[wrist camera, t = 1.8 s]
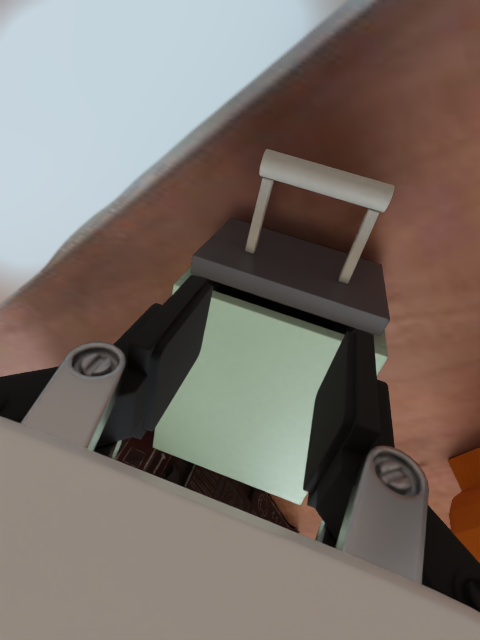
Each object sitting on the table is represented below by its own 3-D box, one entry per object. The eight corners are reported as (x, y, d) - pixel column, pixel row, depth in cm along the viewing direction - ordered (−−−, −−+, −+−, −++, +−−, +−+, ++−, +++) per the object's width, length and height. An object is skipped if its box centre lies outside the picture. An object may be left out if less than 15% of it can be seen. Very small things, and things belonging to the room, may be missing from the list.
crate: (56, 378, 44) (-136, 559, 27) (175, 343, 35) (-3, 580, 18) (199, 546, 57) (128, 738, 40) (311, 551, 48) (280, 801, 31)
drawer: (249, 130, 24) (209, 143, 17) (423, 180, 23) (449, 213, 16) (201, 360, 35) (167, 419, 29) (315, 401, 34) (305, 472, 28)
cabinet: (223, 232, 29) (173, 283, 21) (379, 282, 27) (388, 356, 20) (195, 373, 37) (152, 447, 30) (312, 416, 36) (300, 505, 28)
